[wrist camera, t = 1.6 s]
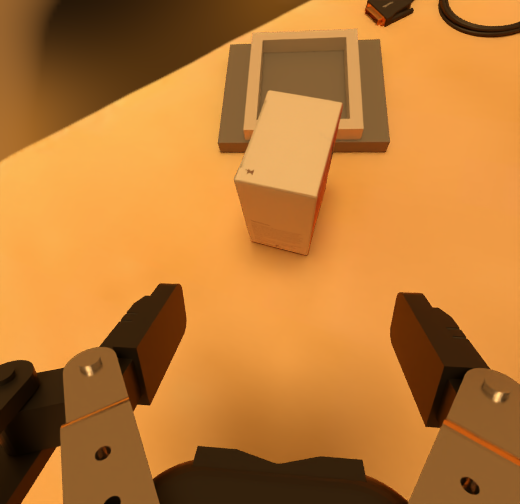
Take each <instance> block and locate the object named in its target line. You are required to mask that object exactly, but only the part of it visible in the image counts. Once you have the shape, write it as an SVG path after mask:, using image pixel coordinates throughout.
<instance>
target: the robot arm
mask: <svg viewBox="0 0 520 504" xmlns="http://www.w3.org/2000/svg"><path fill="white" fill-rule="evenodd" d="M185 329H186V312H185V305H184V298H183V291H182V287H181V285H180V284H163V283H161V284H159V285H158V286H157V288H156V289H155V290H154V292H153V293H152V294H151V296H144V297H143V298H141V299H140V300H138V301H137V302H135V303H134V304H133V305H132V306H131V308H130V309H129V310H128V311H127V314H125V315H124V316H123V318H122V319H121V322H119V323H118V324H117V325H116V326H115V328H114V329H113V330H112V332H111V333H110V334H109V335H108V337H107V338H106V339H105V340H104V342H103V343H102V344H101V345H100V347H96V348H91V349H88V350H85V351H83V352H81V353H79V354H77V355H76V356H74V357H73V358H72V359H71V360H70V361H69V362H68V363H67V364H66V366H65V367H64V368H61V369H56V370H50V371H45V372H39V373H36V371H35V369H34V366H33V364H32V363H31V362H29V361H26V360H17V361H11V362H7V363H4V364H2V365H0V504H21V503H22V501H23V499H24V498H25V496H26V495H27V493H28V491H29V490H30V488H31V487H32V485H33V484H34V482H35V480H36V479H37V477H38V476H39V474H40V472H41V471H42V469H43V468H44V466H45V464H46V463H47V461H48V460H49V458H50V457H51V455H52V453H53V452H54V450H55V449H56V447H57V446H61V463H62V485H63V504H520V384H518V383H517V382H516V381H514V380H513V379H512V378H510V377H508V376H506V375H504V374H502V373H500V372H497V371H494V370H491V369H490V368H489V367H488V366H487V364H486V363H485V362H484V360H483V359H482V357H481V356H480V355H479V353H478V352H477V351H476V349H475V348H474V347H473V345H472V344H471V343H470V341H469V340H468V339H466V336H465V335H464V333H463V332H462V331H461V330H459V327H458V325H457V324H456V323H455V321H454V320H453V319H452V317H451V316H449V315H448V314H446V313H445V312H444V311H442V310H441V309H439V308H432V306H431V305H430V303H429V302H428V300H427V299H426V297H425V296H424V295H423V294H422V293H403V292H400V293H398V295H397V298H396V302H395V307H394V312H393V318H392V323H391V328H390V337H391V343H392V346H393V348H394V351H395V353H396V356H397V358H398V361H399V363H400V365H401V368H402V370H403V373H404V375H405V378H406V380H407V382H408V385H409V387H410V390H411V392H412V395H413V397H414V399H415V402H416V404H417V407H418V409H419V412H420V414H421V416H422V419H423V421H424V424H425V426H426V427H437V428H440V431H439V433H438V435H437V438H436V440H435V442H434V445H433V447H432V449H431V452H430V454H429V456H428V458H427V461H426V463H425V465H424V468H423V470H422V472H421V475H420V477H419V479H418V482H417V484H416V486H415V489H414V491H413V493H412V495H411V498H410V500H409V502H408V501H407V500H406V499H405V498H403V497H402V496H401V495H400V494H398V493H397V492H396V491H394V490H393V489H392V488H390V487H388V486H387V485H385V484H383V483H382V482H380V481H378V480H376V479H374V478H372V477H369V476H366V475H365V471H364V466H363V461H362V460H357V459H345V458H333V457H321V456H320V457H315V458H309V459H304V460H299V461H293V462H288V463H282V464H276V463H272V462H270V461H267V460H264V459H262V458H259V457H256V456H253V455H251V454H248V453H245V452H242V451H240V450H237V449H226V448H214V447H202V446H198V447H197V451H196V454H195V458H194V460H192V461H188V462H184V463H181V464H178V465H176V466H174V467H172V468H169V469H168V470H166V471H164V472H162V473H161V474H159V475H158V476H156V477H155V478H154V479H152V476H151V472H150V469H149V465H148V462H147V458H146V455H145V451H144V448H143V444H142V441H141V438H140V434H139V431H138V427H137V424H136V420H135V417H134V413H133V411H134V410H135V408H136V406H137V405H150V404H151V402H152V400H153V398H154V396H155V394H156V392H157V390H158V388H159V385H160V383H161V381H162V379H163V377H164V375H165V373H166V371H167V369H168V366H169V364H170V362H171V360H172V358H173V356H174V354H175V352H176V350H177V348H178V345H179V343H180V341H181V339H182V337H183V335H184V332H185Z"/></svg>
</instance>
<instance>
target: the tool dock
mask: <svg viewBox="0 0 520 504" xmlns="http://www.w3.org/2000/svg"><path fill="white" fill-rule="evenodd" d="M269 90H271V91H277V92H283V93H289V94H295V95H301V96H307V97H313V98H319V99H325V100H330V101H335V102H341V103H343V108H342V113H341V118H340V122H339V127H338V132H337V136H336V141H335V146H334V150H333V152H386V149H387V147H388V145H389V143H390V138H389V127H388V117H387V107H386V97H385V87H384V76H383V66H382V56H381V46H380V39H375V40H358V34H357V29H338V30H313V31H287V32H262V33H252V44H236V45H230V51H229V59H228V67H227V75H226V83H225V91H224V99H223V107H222V115H221V123H220V130H219V138H218V145H219V148H220V151H221V152H246V149H247V147H248V144H249V142H250V139H251V136H252V134H253V131H254V128H255V126H256V123H257V120H258V118H259V115H260V112H261V110H262V107H263V104H264V101H265V97H266V94H267V91H269Z"/></svg>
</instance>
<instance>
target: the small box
mask: <svg viewBox="0 0 520 504" xmlns="http://www.w3.org/2000/svg"><path fill="white" fill-rule="evenodd" d="M342 108H343V103H341V102H335V101H330V100H325V99H319V98H313V97H307V96H301V95H295V94H289V93H283V92H277V91H271V90H269V91H267V94H266V97H265V101H264V104H263V107H262V110H261V112H260V115H259V118H258V120H257V123H256V126H255V128H254V131H253V134H252V136H251V139H250V142H249V144H248V147H247V149H246V152H245V154H244V157H243V159H242V162H241V164H240V166H239V168H238V171H237V173H236V175H235V177H234V182H235V186H236V189H237V193H238V196H239V199H240V203H241V207H242V210H243V214H244V218H245V221H246V225H247V228H248V232H249V235H250V238H251V241H253V242H257V243H261V244H265V245H268V246H272V247H276V248H280V249H284V250H288V251H292V252H296V253H299V254H303V255H308V252H309V248H310V244H311V239H312V236H313V232H314V228H315V224H316V220H317V217H318V213H319V209H320V206H321V202H322V199H323V195H324V191H325V188H326V182H327V177H328V172H329V168H330V164H331V159H332V154H333V150H334V146H335V141H336V136H337V132H338V127H339V122H340V118H341V113H342Z"/></svg>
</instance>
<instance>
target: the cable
mask: <svg viewBox="0 0 520 504" xmlns="http://www.w3.org/2000/svg"><path fill="white" fill-rule="evenodd" d="M412 2H413V0H368V1H367V6H366V8H365V14H366V13H368V14H369V15H370V16H371V17H372V18H373V19H374V20H376V19H377V20H376V21H377V22H378V23H377V25H379V24H380V25H381V26H382V25H383V26H385V27H386V26H388V25H390V24H391V23H393V22H395V21H397V20H399V19H401V18H403V17H405V16H407V15H409V14H411V13H413V11H414V10H413V8H411V9H410V6H411V3H412ZM438 8H439V13H440V15H441V17H442V19H443V20H444V21H445V22H446V23H447V24H448V25H449V26H451V27H452V28H454V29H456V30H458V31H460V32H462V33H465V34H469V35H474V36H482V37H496V36H505V35H509V34H514V33H517V32H520V22H517V23H514V24H510V25H505V26H482V25H477V24H473V23H470V22H467V21H465V20H463V19H461V18H459V17H458V16H457V15H456V14H454V13H453V11H452V10H451V8H450V7H449V3H448V0H439V4H438Z"/></svg>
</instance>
